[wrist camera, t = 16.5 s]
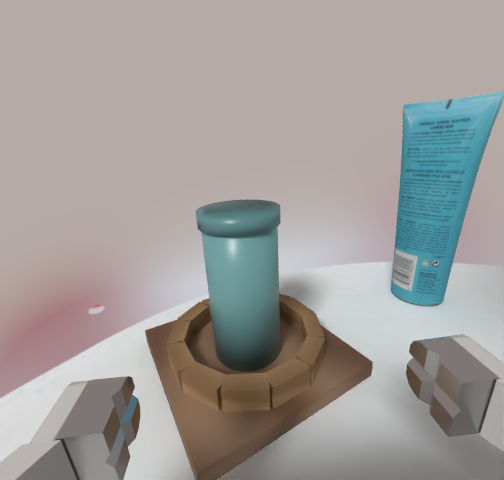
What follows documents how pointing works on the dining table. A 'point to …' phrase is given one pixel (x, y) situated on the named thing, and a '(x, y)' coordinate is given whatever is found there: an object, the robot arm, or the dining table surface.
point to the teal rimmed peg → (243, 280)
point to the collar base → (252, 427)
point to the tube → (437, 189)
